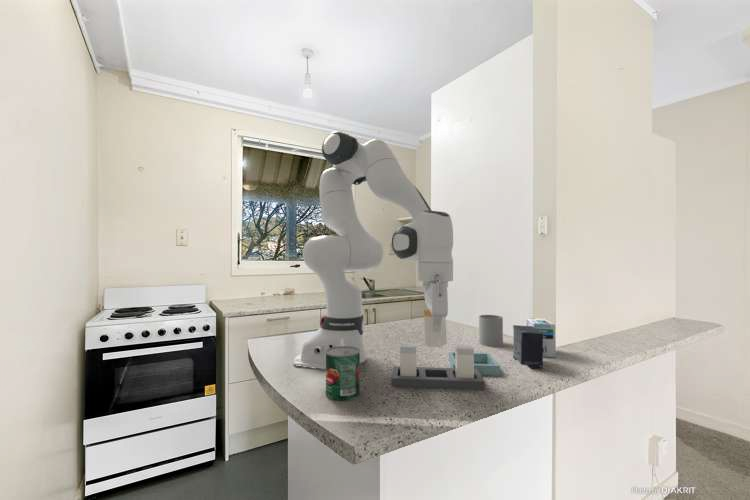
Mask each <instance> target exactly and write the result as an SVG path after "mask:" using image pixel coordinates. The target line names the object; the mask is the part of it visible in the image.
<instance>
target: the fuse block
mask: <svg viewBox="0 0 750 500" xmlns="http://www.w3.org/2000/svg"><path fill="white" fill-rule="evenodd" d="M391 374H392V375H391V387H392V388H393V387H395V388H414V389H415V388H417V389H418V388H419V389H440V390H442V389H445V390H446V389H447V390H448V389H449V390H467V391H469V390H470V391H471V390H473V391H486V390H485V387H486V386H485V379H484V378H483V375H481V374H480V373H479V371H478V369H474V378H455V368H451V367H430V366H429V367H428V366H427V367H425V366H416V376H400V365H399V366H396V365H395V366H393V367H392V373H391Z"/></svg>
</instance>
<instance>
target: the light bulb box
mask: <svg viewBox="0 0 750 500" xmlns="http://www.w3.org/2000/svg"><path fill="white" fill-rule="evenodd" d="M526 326H533V327H534V328H536V329H537V330H539V331H540V332H542V333H543V358H557V357H556V356H557V355H556V353H557V352H556V350H557V349H556V324H555V323H554V322H552V321H550V320H548V319H547V318H537V317H526Z"/></svg>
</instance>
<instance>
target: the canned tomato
mask: <svg viewBox="0 0 750 500" xmlns="http://www.w3.org/2000/svg"><path fill="white" fill-rule="evenodd" d="M360 364H361V363H360V350H359V349H358V348H356V347H350V346H339V347H333V348H329V349H327V350H326V370H325V396H326V398H327V399H328V400H330V401H336V402H348V401H351V400H355V399H356V398H358V397H359V396H360V393H361V392H360V388H361V385H360V384H361V381H360V379H361V378H360V377H361V375H360V373H361V371H360V370H361V369H360Z"/></svg>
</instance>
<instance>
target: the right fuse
mask: <svg viewBox="0 0 750 500" xmlns="http://www.w3.org/2000/svg"><path fill="white" fill-rule="evenodd" d="M454 352H455V378H474V364H475V362H474V353H475V349H474V347H473V345H472V344H468V343H467V344H466V343H465V344H462V343H461V344H460V343H459V344H457V343H455V345H454Z"/></svg>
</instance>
